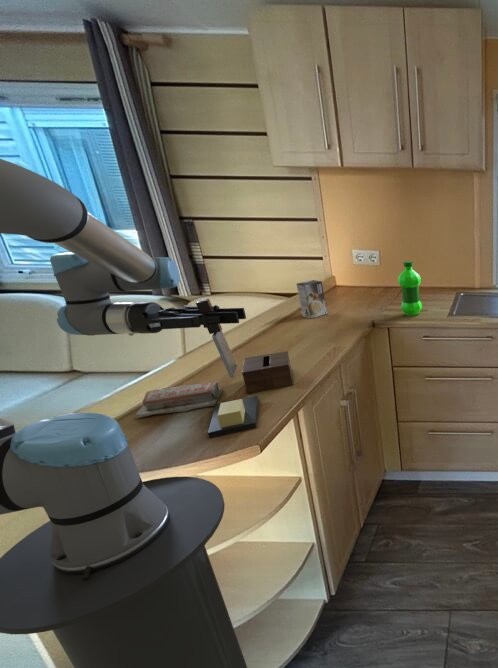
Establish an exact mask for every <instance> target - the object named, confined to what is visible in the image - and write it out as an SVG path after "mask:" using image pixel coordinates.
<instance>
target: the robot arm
mask: <svg viewBox="0 0 498 668" xmlns="http://www.w3.org/2000/svg"><path fill="white" fill-rule="evenodd" d="M0 234H1V235H2V234H3V235H19V236H24V237H27V238H28V239H31V240H33V241H37V242H40V243H45V244H54V245H57V246H59V247H60V248H62V249H64V250H66V251H65V252H59V253H55V254H53V255H51V256H50V257H49V261H50V265H51V269H52V272H53V277H55V279H56V283H57V284H58V287H59V289H60V292H61V294H62V296H63V299H64V302H65V304H64V305H63V306H61V307H60V308H59V309H58V311H57V313H56V315H57V318H56V323H57V326H58V327H59V328H60V329H61V330H62V331H63V332H65V333H67V334H69V335H74V336H91V337H92V336H100V335H101V336H104V335H105V336H106V335H128V336H130V337H132V336H134V335H135V334H158V333H160V332H161V331H163V330H174V329H175V330H176V329H192V328H193V329H194V328H197V329H198V328H201V327H202V326H203V328H204V329H207V328H208V327H209V325H208V323H209V324H220V325H223V324H224V325H227V324H240V320H246V319H247V316H246V312H245V311H246V310H245V307H228V308H227V307H226V308H225V307H223V308H220V306H219V305H218V304H215V305H212V307H213V309H214V311H215V312H208V313H207V316H206V314H200V312H199V309H198V307H197V305H188V304H187V305H186V304H184V305H182V306H181V307H172V306H171V307H165V308H163V307H162V306H161V305H160V304H159V303H157V302H154V301H146V302H145V301H144V302H142V301H141V302H140V301H139V302H136V301H135V302H134V301H131V302H112V301H111V296H110V294H109V293H119V292H137V291H152V290H153V291H154V290H155V291H156V290H161V291H162V290H165V289H174V288H176V287H177V286H179V283H180V270H179V267H178V265H177V264H176V262H175V260H174V259H173V258H171V257H167V256H166V257H165V256H162V257H161V256H156V257H152V256H151V255H149V254H148V253H147V252H145V251H143V250H142V249H141V248H139V247H138V246H136V245H135V244H134V243H132V242H131V241H129V240H128V239H126V237H124V236H122V235H121V234H119V233H118V232H116V230H114V229H112V227H109V226H108V225H106V224H105V223H104V222H103V221H101V220H99V218H97V217H95V216H94V215H92V214H91V213H90V212H89V210H88V207H87V205H86V204H85V203H84V202H83V200H81V198H79V197H78V196H76V195H75V194H74V193H72V192H71V191H70V190H68V189H66V188H65V187H63V186H62V185H60V184H58V183H57V182H56V181H53V180H52V179H49V178H48V177H46V176H44V175H41V174H40V173H37V172H35V171H33V170H31V169H29V168H26V167H24V166H21V165H19V164H16V163H14V162H11V161H8V160H6V159H3V158H0ZM67 251H68V252H67ZM143 482H144V481H143V480H142V478H141V474H140V472H139V469H138V466H137V464H136V461H135V459H134V455H133V453H132V451H131V448H130V446H129V440H128V437H127V436H126V434H125V433H124V431H123V430H122V428H121V426H120V423H119V422H118V421H117V420H116V419H114V418H112V417H111V416H109V415H106V414H103V413H97V412H76V413H75V412H74V413H67V414H66V413H65V414H60V415H56V416H53V417H52V418H49V419H46V418H45V419H44V418H43V419H41V420H38V421H36V422H33V423H31V424H28V425H26V426H24V427H22V428H20V429H19V430H18V431H16V429H15V425H14V422H13V421H12V420H9V419H7V418H4V417H2V416H0V516H2V515H6V514H12V513H17V512H20V511H25V510H30V509H35V508H43V510H44V512H45V513H46V515H47V517H48V519H49V521H51V523H52V532H51V548H50V556H51V561H52V563H53V565H54V567H55V568H56V570H57V571H58V572H60V573H63V574H66V575H82V574H84V575H83V578H82V580H87V579H89V576H90V573H93V572H96V571H100V570H103V569H106V568H109V567H111V566H114V565H116V564H118V563H120V562H123V561H125V560H127V559H128V558H130V557H132V556H134V555H135V554H137V553H139V552H140V551H142V550H143V549H145V548H146V547H147V546H149V545H150V544H151V543H152V542H153V541H155V540H156V539H157V538H158V537H159V536H160V535H161V534H162V532H163V531H164V530H165V528H166V527H167V525H168V522H169V518H170V516H169V512H168V510H167V507H166V505H165V504H164V503H163V502H162V501H161V500H160V499H159V498H158V497H157V496H156V495H154V494H153V493H152V492H151V491H150V490H149V489H148V488H147V487H145V486H144V485H143Z"/></svg>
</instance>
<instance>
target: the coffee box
mask: <svg viewBox="0 0 498 668" xmlns="http://www.w3.org/2000/svg"><path fill="white" fill-rule="evenodd" d="M296 287H297V293H298V298H299V303H300V304H299V305H300V308H301V315H302V317H303V318H308V319H314V318H319V317H321V316H324V315H327V314H328V309H327V305H326V304H327V303H326V300H325V293H324V286H323V281H321V280H315V279H312V280H308V281H307V280H306V281H301V282H297V283H296ZM325 312H326V313H325Z"/></svg>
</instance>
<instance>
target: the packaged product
mask: <svg viewBox="0 0 498 668" xmlns="http://www.w3.org/2000/svg"><path fill="white" fill-rule="evenodd" d="M222 393H223V388H222V387H221V386H219V384H218V381H208V382H200V383H193V384H192V383H191V384H185V385H178V386H171V387H162V388H157V389H151V390H148V391H146V392H145V394H144V397H143V399H142V406H141V407H140V408H139V409H138V410H137V412H136V414H135V415H134V417H136V419H140V418H145V417H150V416H151V417H152V416H155V415H162V414H170V413H176V412H177V413H179V412H181V413H182V412H188V411H191V410H195V409H202V408H207V407H214V406H216V404H217V403H218V400H219V398H220V397H221V394H222Z"/></svg>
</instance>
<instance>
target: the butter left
mask: <svg viewBox="0 0 498 668" xmlns="http://www.w3.org/2000/svg"><path fill="white" fill-rule="evenodd" d="M231 401H232V400H228V401H223V403H222V402H220V403H221V404H220V408H219V412H218V415H217V416H218V419H219V423H220V426H221V428H223V427H228V426H232V423H231V419H230V415H229V411H230V406H231Z"/></svg>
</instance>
